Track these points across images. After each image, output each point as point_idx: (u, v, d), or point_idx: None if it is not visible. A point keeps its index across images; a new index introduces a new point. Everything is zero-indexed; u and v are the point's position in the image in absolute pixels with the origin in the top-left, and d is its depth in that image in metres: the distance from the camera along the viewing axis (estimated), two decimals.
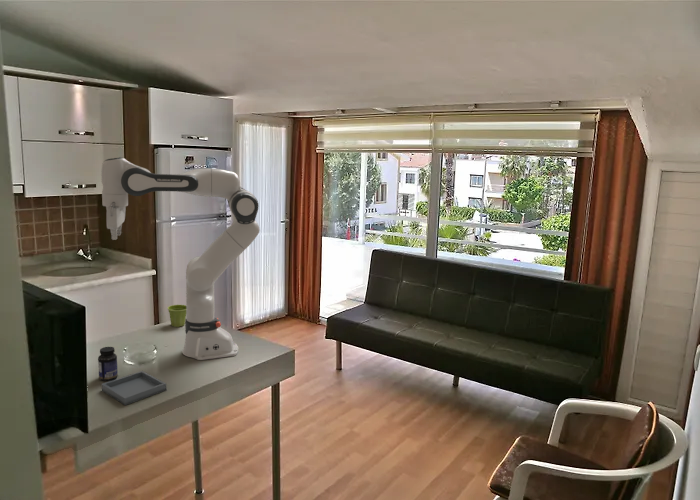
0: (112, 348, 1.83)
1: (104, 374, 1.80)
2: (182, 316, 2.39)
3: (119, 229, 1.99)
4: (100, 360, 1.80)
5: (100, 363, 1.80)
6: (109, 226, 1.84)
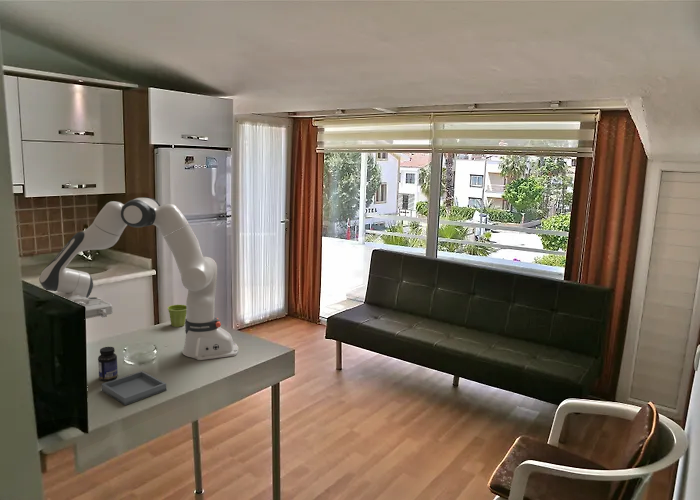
0: (112, 348, 1.83)
1: (104, 374, 1.80)
2: (182, 316, 2.39)
3: (103, 312, 1.93)
4: (100, 360, 1.80)
5: (100, 363, 1.80)
6: None
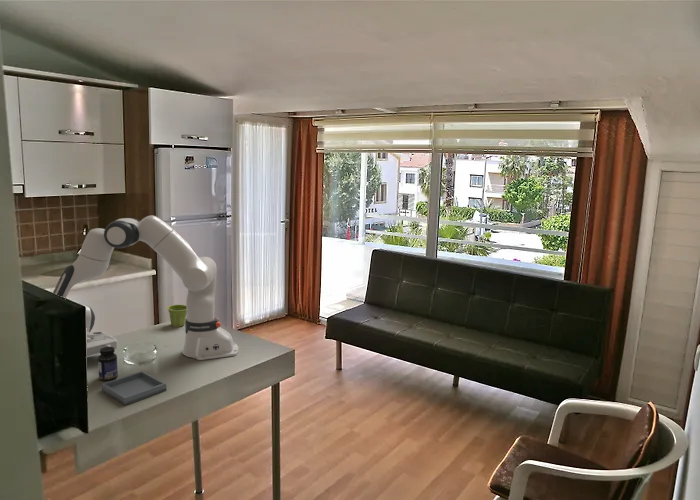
0: (112, 348, 1.83)
1: (104, 374, 1.80)
2: (182, 316, 2.39)
3: None
4: (100, 360, 1.80)
5: (100, 363, 1.80)
6: None
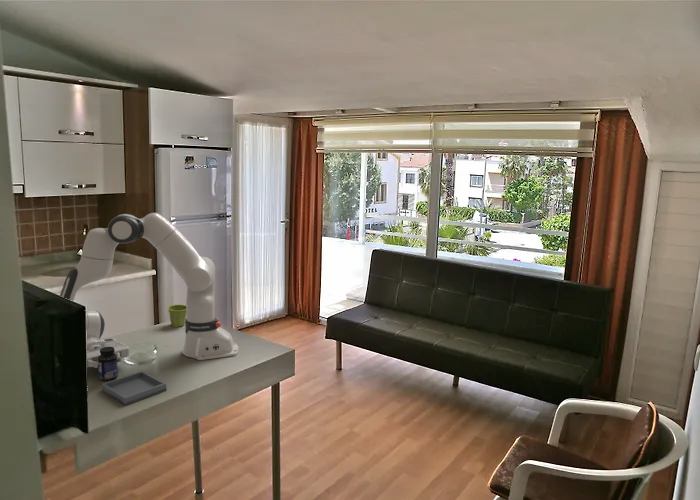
0: (112, 348, 1.83)
1: (104, 374, 1.80)
2: (182, 316, 2.39)
3: (117, 356, 1.87)
4: (100, 360, 1.80)
5: (100, 363, 1.80)
6: None
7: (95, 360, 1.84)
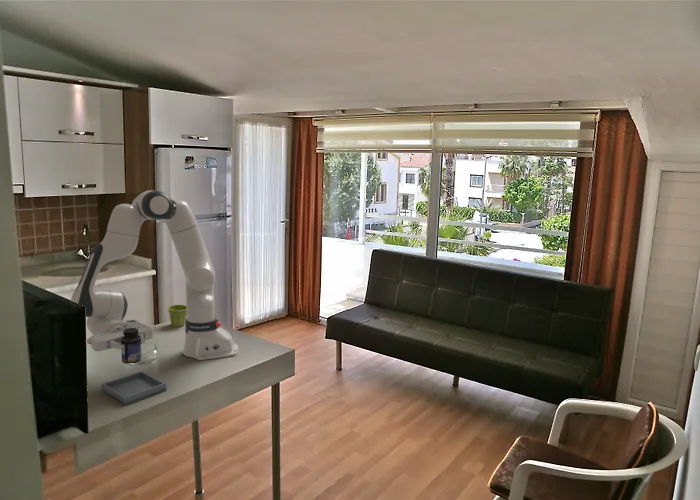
0: (136, 329, 1.73)
1: (128, 356, 1.71)
2: (182, 316, 2.39)
3: None
4: (123, 342, 1.70)
5: (123, 345, 1.70)
6: (94, 348, 1.69)
7: (118, 341, 1.74)
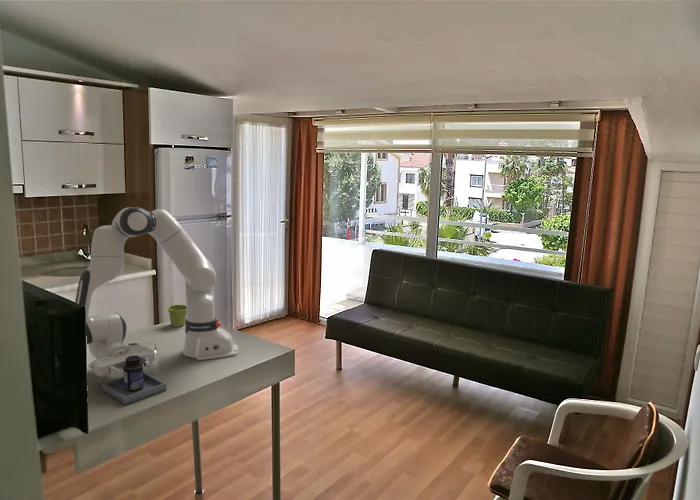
0: (138, 357, 1.74)
1: (130, 384, 1.72)
2: (182, 316, 2.39)
3: None
4: (126, 370, 1.71)
5: (126, 373, 1.72)
6: (97, 373, 1.70)
7: (120, 366, 1.75)
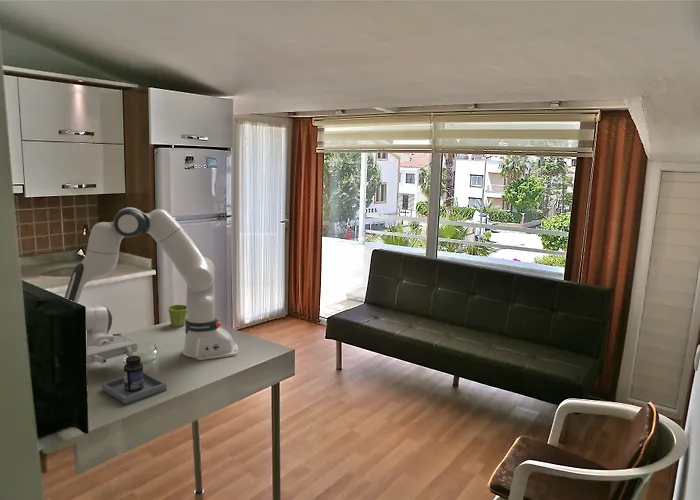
0: (138, 357, 1.74)
1: (130, 384, 1.72)
2: (182, 316, 2.39)
3: None
4: (126, 370, 1.71)
5: (126, 373, 1.72)
6: None
7: (104, 355, 1.83)
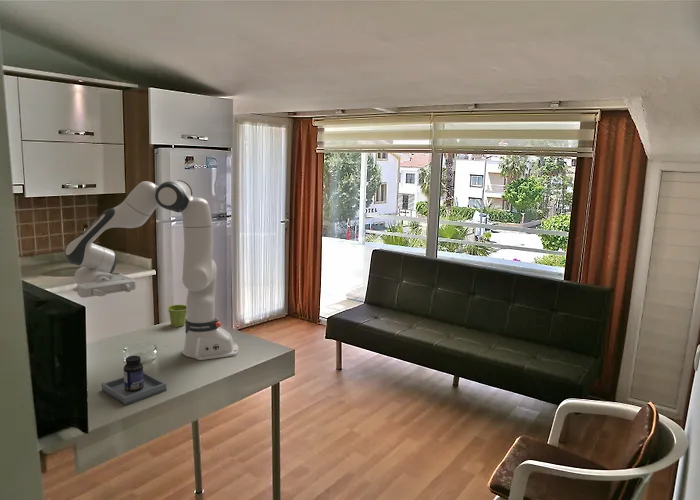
0: (138, 357, 1.74)
1: (130, 384, 1.72)
2: (182, 316, 2.39)
3: (126, 287, 1.91)
4: (126, 370, 1.71)
5: (126, 373, 1.72)
6: (81, 295, 1.82)
7: (102, 290, 1.88)
